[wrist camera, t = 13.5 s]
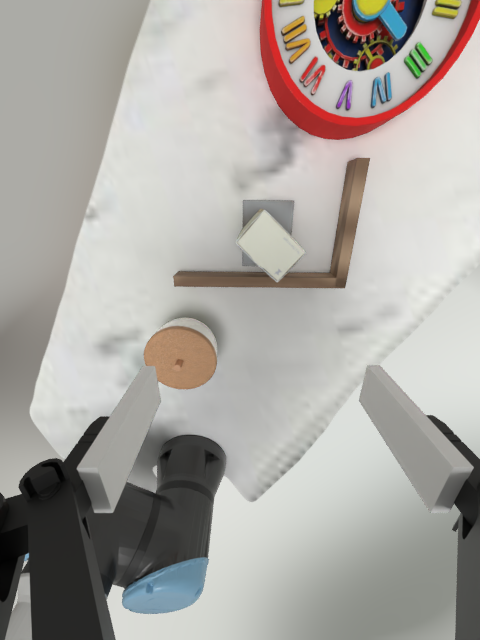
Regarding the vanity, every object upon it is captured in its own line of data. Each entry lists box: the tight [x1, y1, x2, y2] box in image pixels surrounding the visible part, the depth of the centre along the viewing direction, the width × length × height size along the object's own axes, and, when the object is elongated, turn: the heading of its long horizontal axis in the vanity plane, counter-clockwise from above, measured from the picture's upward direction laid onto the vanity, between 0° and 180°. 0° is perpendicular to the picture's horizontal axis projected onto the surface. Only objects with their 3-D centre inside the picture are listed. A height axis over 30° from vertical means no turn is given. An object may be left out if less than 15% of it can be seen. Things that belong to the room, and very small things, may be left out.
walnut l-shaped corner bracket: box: [173, 158, 370, 288], centre depth 34 cm, size 16×25×3 cm, turn 90°
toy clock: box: [260, 0, 480, 140], centre depth 24 cm, size 20×6×20 cm
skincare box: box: [236, 209, 306, 282], centre depth 30 cm, size 6×4×12 cm
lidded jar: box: [144, 318, 217, 389], centre depth 39 cm, size 11×11×9 cm
